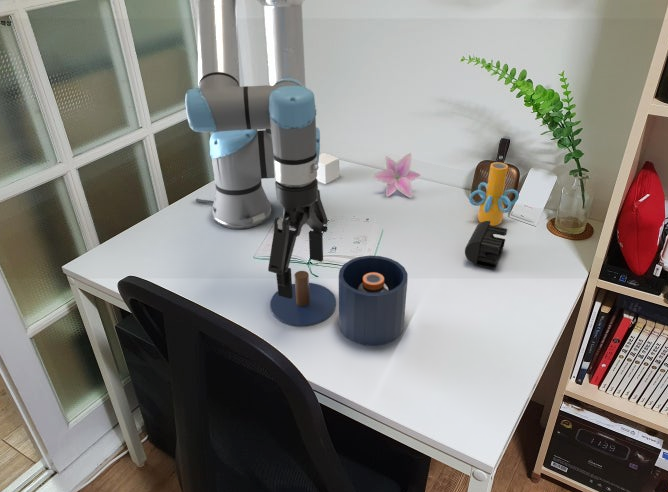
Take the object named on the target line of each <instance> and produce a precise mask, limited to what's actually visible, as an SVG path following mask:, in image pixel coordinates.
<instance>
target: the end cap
mask: <svg viewBox="0 0 668 492" xmlns="http://www.w3.org/2000/svg"><path fill="white" fill-rule="evenodd" d="M490 222H491V221H483V222H481V223H480V222H479V223H478V224H477V225H476V227H475V228H474V231H473V232H472V235H471V236H470V238H469V240H468V243H467V244H466V246H465V248H464V255H465V257H466V259H467V260H468V261H469V262H470V263H472V264H473V265H474V266H476V267H479V268H483V269H487V270H490V271H491V270H492V271H493V270H496V268H497V266H498V263H499V261H500V259H501V256H502V254H503V251H504V247H505V243H506V238H503V237H505V236H507V233H508V228H506V227H502V226H497V225H496V226H492V225H490ZM495 235H498V236H503V237H502V238H501V237H498V236H495Z"/></svg>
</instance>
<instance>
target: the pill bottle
mask: <svg viewBox="0 0 668 492" xmlns="http://www.w3.org/2000/svg"><path fill="white" fill-rule="evenodd" d="M357 290H358V291H362V292H366V293H382V292H387V291H389V290H388V287H387V286H386V285H385V284H384V277H383V276H382V275H381V274H379V273H374V272H372V273H367V274H366V275H364V276H363V282H362V283H361V284H360V285H359V287H358V289H357Z"/></svg>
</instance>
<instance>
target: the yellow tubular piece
mask: <svg viewBox="0 0 668 492" xmlns="http://www.w3.org/2000/svg"><path fill="white" fill-rule="evenodd" d="M508 169H509V165H508V164H507V163H505V162H500V161H496V162H492V163H491V164H490V167H489V172H488V178H487V183H486V182H483V181H482V182H480V183H479V184H478V187H477V189H476V190H474V191H472V192H471V193H470V194H469V196H468V201H469V203H470V205H472V206H475V207H478V206H479V208H478V215H477V220H478V222H479V223H481V222H483V221H491V222H490V225H492V226H496V227H497V226H500V225H501V224H502V222H503V218H504V214H508V213H509V212H511V209H512V205H514V204H515V203H516V202H518V200H519V197H520V196H519V192H518V191H517V190H516V189H514V188H510V189H507V190H505V184H506V180H507V175H508ZM483 186H484V187H485V191H484V190H482V187H483ZM511 193H513V194H514V195H515V197H514V199H513V200H510V198H509V196H507V195H508V194H511ZM477 194H478V196H479V197H480V198H481V199H482V200H480V201H478V202H475V201H474V200H473V197H474V196H475V195H477ZM505 205H506V206H507V208H505Z"/></svg>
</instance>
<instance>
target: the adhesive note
mask: <svg viewBox="0 0 668 492" xmlns="http://www.w3.org/2000/svg"><path fill="white" fill-rule="evenodd" d="M318 166H319V168H318V170H317V177H316V179H317V181H318V183H321V184H323V185H328V184H329V183H331V182H333V181H335V180H337V179H339V178H340V157H337V156H334V155H331V154H328V153H326V152H323V153H319V161H318Z"/></svg>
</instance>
